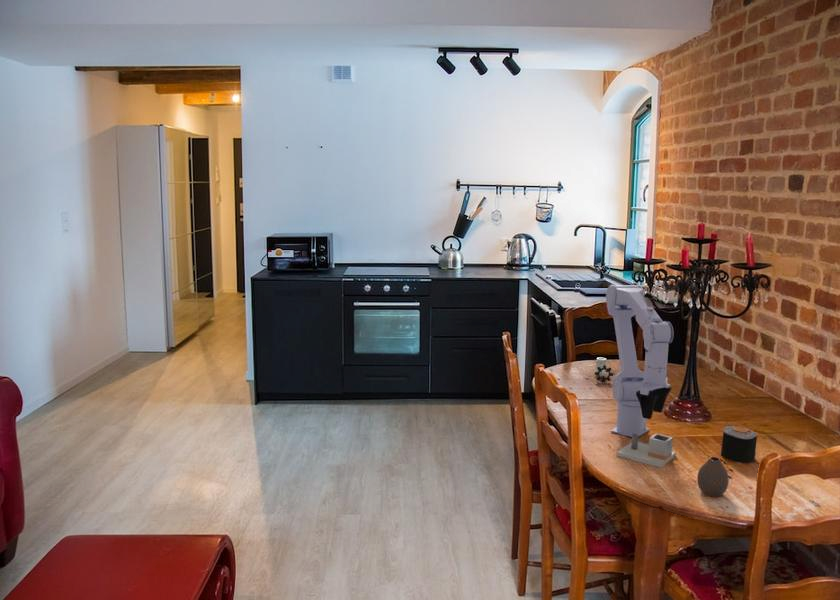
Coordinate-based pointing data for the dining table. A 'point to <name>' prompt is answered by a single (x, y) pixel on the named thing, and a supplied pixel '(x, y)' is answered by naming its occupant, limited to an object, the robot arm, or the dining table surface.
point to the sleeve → (660, 446)
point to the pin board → (641, 453)
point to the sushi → (739, 444)
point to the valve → (602, 369)
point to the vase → (713, 478)
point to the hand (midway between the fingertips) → (652, 414)
